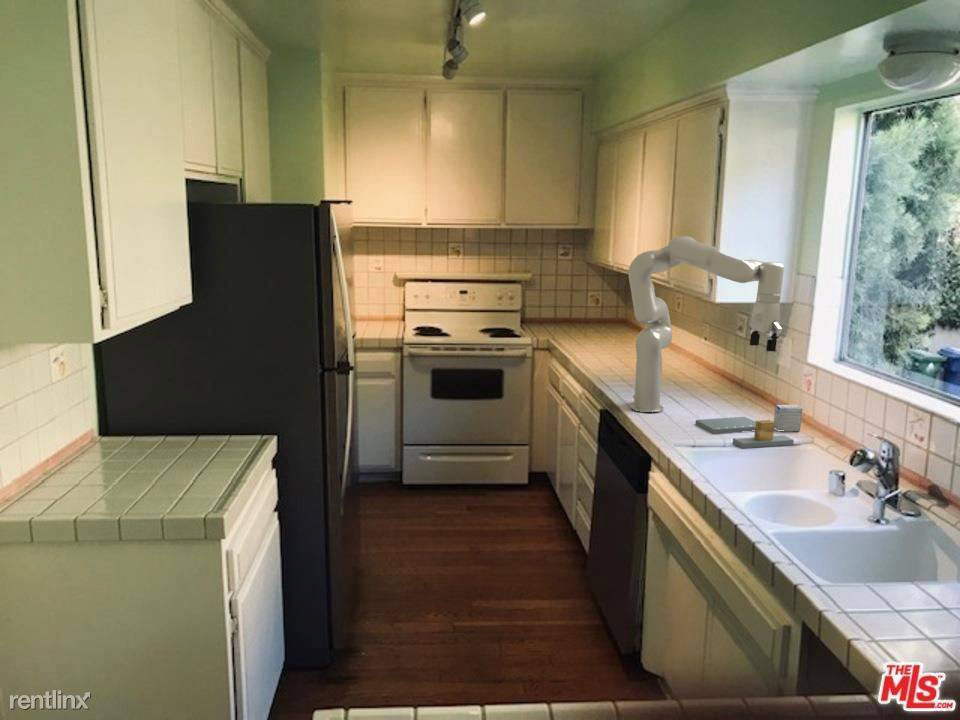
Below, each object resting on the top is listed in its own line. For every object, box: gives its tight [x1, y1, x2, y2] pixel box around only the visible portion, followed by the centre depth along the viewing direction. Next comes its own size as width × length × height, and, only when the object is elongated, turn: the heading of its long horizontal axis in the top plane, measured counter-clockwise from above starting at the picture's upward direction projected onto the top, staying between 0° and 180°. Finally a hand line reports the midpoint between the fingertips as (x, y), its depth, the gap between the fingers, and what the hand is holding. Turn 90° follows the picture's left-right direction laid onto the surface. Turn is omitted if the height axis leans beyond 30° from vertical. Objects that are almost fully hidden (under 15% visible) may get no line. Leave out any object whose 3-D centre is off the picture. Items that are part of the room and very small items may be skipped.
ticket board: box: [695, 416, 756, 435], centre depth 261 cm, size 12×20×2 cm, turn 105°
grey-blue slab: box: [732, 419, 795, 449], centre depth 243 cm, size 6×19×8 cm, turn 105°
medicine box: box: [773, 404, 804, 432], centre depth 259 cm, size 8×4×9 cm, turn 92°
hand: (762, 348), depth 255 cm, fingers open, 9 cm apart
